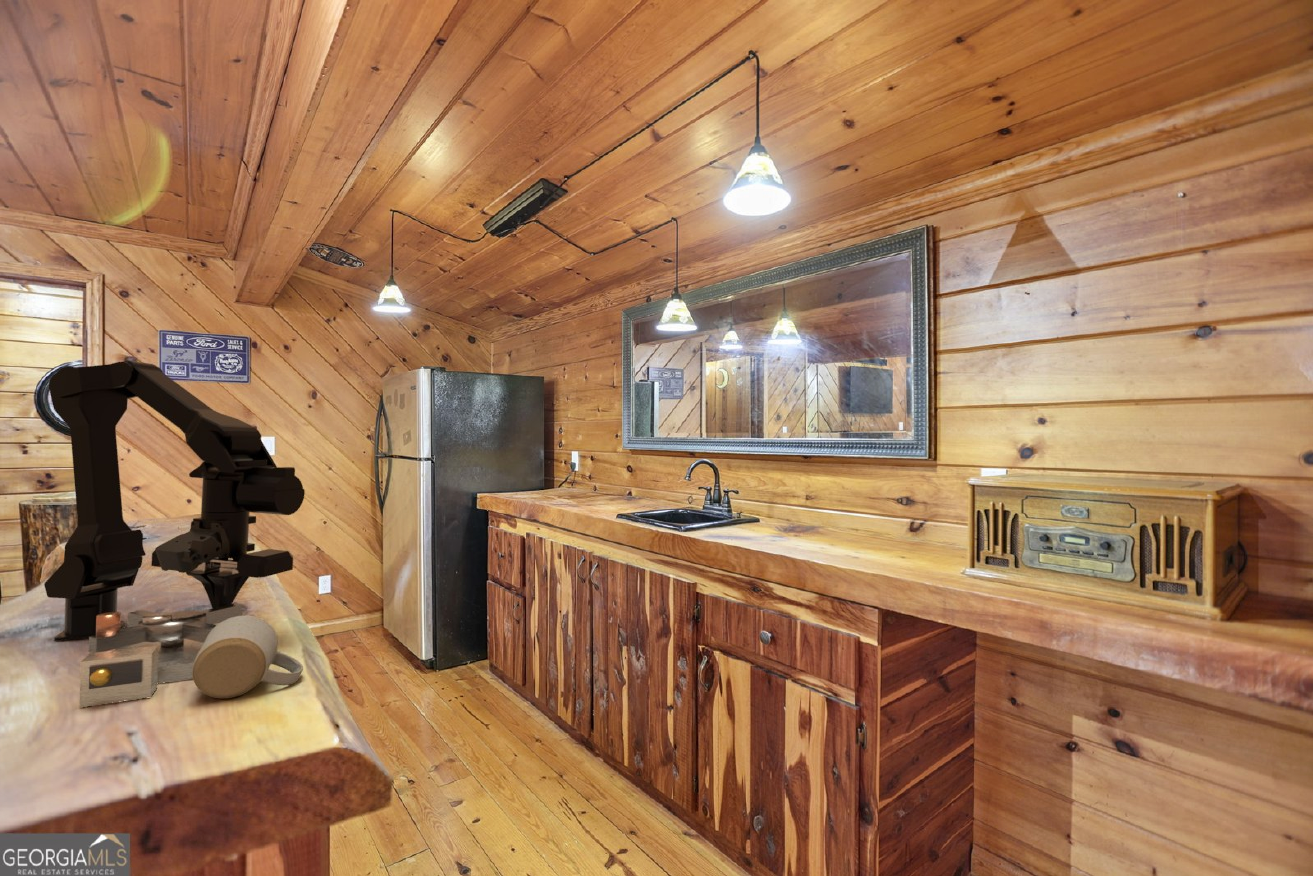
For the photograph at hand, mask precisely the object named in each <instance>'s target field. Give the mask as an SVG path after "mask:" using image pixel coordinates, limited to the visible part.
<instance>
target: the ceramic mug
mask: <svg viewBox="0 0 1313 876" xmlns="http://www.w3.org/2000/svg"><path fill="white" fill-rule="evenodd" d="M278 646H279V639H278V634H277V632H276V630H275V628H274V627H273V626H272V625H271V624H270V623H269V622H267V621H266V620H265V619H264V618H263V619H262V618H260V617H258V616H253V615H244V614H243V615H242V616H236V617H232V618H229V619H227V620H225V621H223V622H220V623H219V624H218V625H217V626H215V627H214V628H213V629H212V630H211V632H210V633H209V634H208V636H207V638H206V640H205V642H204V644H203V645H202V647H201V649H200V651H199V652H198V654H197V656H196V658H195V661H194V664H193V679H192V680H193V681H194V684H195V686H196V688H197V689H198V690H199V691H201V693H202V694H205V695H206V696H208V697H209V698H210V697H211V698H215V699H232V698H236V697H240V696H242V695H243V694H246V693H248V692H249V691H250V690H252V689H254V688H255V687H256V686H257V685H258V684H259V683H260V682H263V683H265V684H270V685H276V686H290V684H291V685H293V684H292V683H294V682H295V683H297V682H298V680H299V679H300V677H301V675H302V672H303V670H304V666H303V664H302V663H301V662H300V661H299V660H298V659H296V658H295V657H292V656H291V655H289V654H287V653H284V652H281V651H278V648H279V647H278ZM271 665H275V666H276V667H279V668H282V669H285V670H287V671H288V672H284V671H278V670H274V669H270V666H271ZM296 681H297V682H296ZM295 683H294V684H295Z"/></svg>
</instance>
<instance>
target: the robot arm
mask: <svg viewBox="0 0 1313 876" xmlns="http://www.w3.org/2000/svg"><path fill="white" fill-rule="evenodd" d="M48 389H49V395H50V398H51V402H52V407H53V410H54V412H55V413H56V414H57V415H58V416H59V418H61V419H62V420H63V422H64V423H65V424H66V425H67V427H68V428H69V431H70V440H71V453H72V466H73V479H74V491H75V493H74V494H75V503H76V505H75V506H76V516H77V526H76V528H75V529H74V531H73V532H72V534H71V535H70V537H69V538H68V541H67V542H66V543H65V545H64V553H63V554H64V555H63V563H62V564H61V565H60V566H59V567H58V568H57V569H56V570H55V571H54V573H52V574H51V575H50V576H49V578H48V579H47V580H46V581H45V582H44V584H43V585H44V589H45V593H46V596H47V598H53V599H64V601H65V602H64V628H63V629H64V630H62V631H61V632H60V633H58V634H57V635H55V636H54V637H53V641H55V642H57V641H67V640H69V641H70V640H77V639H85V638H86V639H87V638H88V639H89V637H91V636H95V635H96V616H97V615H99V614H103V613H108V612H118V593H119V592H118V590H119V589H120V588H125V587H132V586H134V584H135V581H136V578H137V575H138V573H139V569H140V568H142V564H143V556H146V552H145V549H144V546H143V544H144V543H143V541H144V534H143V531H142V530H141V529H132V528H131V526H129V525H128V524H127V522H126V521H125V520H124V514H123V504H122V490H121V489H122V488H121V478H120V466H119V453H118V441H117V429H116V428H117V425H118V424H119V422H120V421H121V419H122V418H123V416H124V414H125V413H126V411H127V410H128V400H130V399H134V398H138V399H140V401H142V402H144V403H145V404H146V405H147V406H149V407H150V408H151V409H152V410H154V411H156V413H158V414H159V415H161V416H162V417H163V418H165V419H167V420H168V422H170V423H171V424H172V425H174V426H175V427H177V428H179V430H180V431H181V432H182V433H183V434H184V437H185V443H186V445H187V446H188V448H190V449H191V451H192V452H193V453H194V454H195V455H196V456H197V457H198V458H199V459H200V460H201V461H202V462H201V464H199V466H198V467H196V468H194V469H193V470H192V471H190V472H189V473H188V477H190V478H194V479H202V491H201V507H200V508H201V509H200V511H201V512H200V517H195V518H193V519H192V521H191V523H190V529H189V531H188V532H185V533H181V534H179V535H177V536H175V537H173V538H171V539H169V540H167V541H166V542H164V543H161V544H159V545H158V546H156V547H155V548H154V550H153V552H152V553H151V562H150V563H151V565H150V566H151V567H158V568H161V570H162V571H165V572H167V571H175V572H179V573H182V574H183V573H184V574H186V575H187V576H190V577H192V578H194V579H195V580H197V581H199V582H200V583H201V585H202V586H203V588H204V590H205V593H206V595H207V598H208V600H209V603H210V606H211V609H212V608H217V607H221V606H225V605H230V604H234V603H233V602H234V601H235V600H236V597H237V595H238V594H239V592H240V591H241V590H242V588H243V586H244V585H245V584H246V582H247V580H248V579H249V578H266V577H270V576H274V575H277V574H281V573H285V572H288V571H292V570H293V568H294V555H292V553H291V552H290V551H289V550H281V549H272V548H267V549H263V550H258V551H255V549H256V546H255V545H256V544H255V543H253V542H251V543H250V542H249V532H250V531H249V530H250V529H249V527H250V525H251V524H257V516H256V515H250V513H255V514H266V515H268V514H269V515H280V516H290V515H293V514H295V513H296V512H297V511H299V509H300V507H301V506H302V504H303V502H304V499H305V494H306V491H305V488H304V487H303V484H302V481H301V479H300V478H299V477H297V476H296V468H295V467H294V466H292V467H291V466H281V467H279V466H278V467H277V464H276V463H275V460H273V458H272V456H271V455H270V453H269V450H268V449H267V448H266V446H265V444H264V443H263V441H262V434H261V433H260V431H259V430H258V429H257V428H256V427H255V426H253V425H252V424H249V423H247V422H245V421H243V420H241V419H239V418H236V417H232V416H230V415H226V414H223V413H220V412H219V411H216V410H214V409H213V408H211V407H210V406H208V405H207V404H206V403H205V402H203V401H202V400H200V399H199V398H198V397H196V396H195V395H194V394H192V393H191V392H190V391H188V389H185V388H184V387H183V386H182V385H180V384H179V383H177V382H176V381H175V380H173V379H172V378H170V377H169V376H168V375H166V374H165V373H164V372H163V370H162V368H161V367H158V366H157V365H155V364H153V363H149V362H148V363H147V362H140V361H133V360H122V361H117V362H112V363H109V364H100V365H99V364H98V365H90V366H64V367H61V368H60V369H59V370H57V372H56V373H54V374H53V375H52V376H51V377H50V378H49V381H48ZM167 420H166V421H167ZM252 551H253V552H252ZM125 623H126V620H121V628H123V626H125Z"/></svg>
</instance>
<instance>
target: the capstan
mask: <svg viewBox="0 0 1313 876" xmlns="http://www.w3.org/2000/svg"><path fill="white" fill-rule="evenodd" d="M243 608H244V607H243V604H241V603H237V602H236V603H235V602H234V603H232V604H230V605H225V606H221V607H217V608H212V607H211V608H210V609H204V610H199V611H197V610H185V611H182V610H181V611H175V612H174V611H173V612H154V611H149V610H145V609H139V610H136V611H130V612H128V613H127V627H126V628H122V627H121V621H122V612H121V611H117V612H108V613H103V614H99V615H97V616H96V635H95V636H91V637H88V653H97V652H105V651H114V650H115V649H118V648H122V647H126V646H130V645H133V644H137V643H141V642H165V641H173V640H179V639H188V640H193V641H198V642H202V643H204V642H205V640H206V638H207V636H208V634H209V633H210V632H211V630H212V629H213V628H214V627H215V626H217V625H214V624H216V623H221V622H223V621H225V620H227V619H229V618H232V617H236V616H243ZM121 628H122V629H121Z"/></svg>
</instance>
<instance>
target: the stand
mask: <svg viewBox="0 0 1313 876" xmlns="http://www.w3.org/2000/svg"><path fill="white" fill-rule="evenodd" d="M218 624H219V623H216V624H214V625H218ZM203 644H204V643H202V642H198V641H193V640H188V639H179V640H173V641H165V642H141V643H137V644H133V645H130V646H126V647H122V648H118V649H114V650H110V651H105V652H97V653H91V652H89V653H88V655H87V656H85V657H84V658H83V659H82V660H81V661H80V673H79V678H80V679H79V680H80V681H79V707H78V708H79V709H83V707H85V708H88V707H87V706H92V707H96V706H95V705H99V706H102V705H101V704H105V705H107V704H106V703H112V702H113V703H112V704H115V703H114V702H119V701H124V700H133V701H137V700H136V699H139V700H143V699H142V698H146V699H148V698H147V697H151V696H153V695H154V694H153V693H155V692H156V691H157V689H158V684H157V683H161V684H164V683H163V682H169V683H174V682H183V681H188V680H189V681H190V680H193V664H194V661H195V658H196V656H197V654H198V652H199V651H200V649H201V647H202V645H203ZM156 688H157V689H156ZM155 690H156V691H155ZM154 691H155V692H154ZM152 694H153V695H152ZM151 698H152V697H151ZM119 703H120V702H119ZM93 705H94V706H93Z"/></svg>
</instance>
